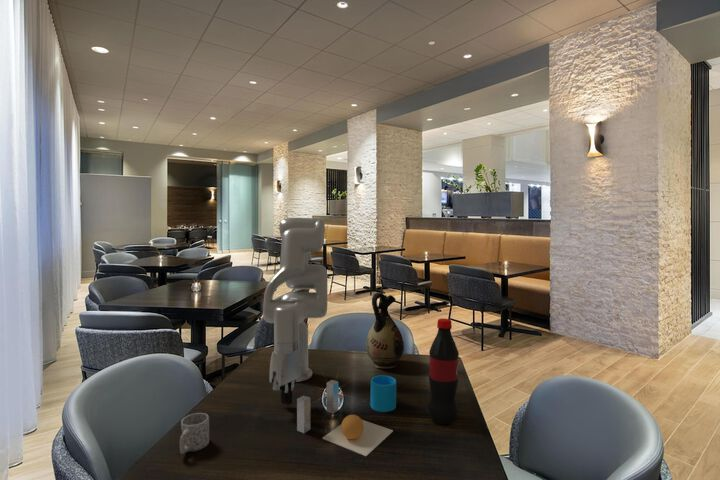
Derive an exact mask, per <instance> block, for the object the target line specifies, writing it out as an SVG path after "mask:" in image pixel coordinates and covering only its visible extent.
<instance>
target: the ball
mask: <svg viewBox="0 0 720 480" xmlns="http://www.w3.org/2000/svg"><path fill="white" fill-rule="evenodd" d="M361 419H362V418H361V417H360V416H358V415H357V414H348V415H346V416H345V417H344V418H343V419H342V422H341V424H342V425H341V424H340V425H341V429H342V433H343V434H344V436H345V437H346V438H348V439H356V438H358V437H360V435H361V434H362V432H363V428H364V426H363V422H362V420H363V419H362V420H361Z"/></svg>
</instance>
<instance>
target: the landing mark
mask: <svg viewBox="0 0 720 480" xmlns="http://www.w3.org/2000/svg"><path fill="white" fill-rule="evenodd" d="M361 420H362V422H363V426H364V428H363V432H362V434H361V435H360V437H358V438H356V439H348V438H346V437H345V436H344V434H343V433H342V429H341V425H342V423H341V424H339V425H338V426H337V427H335V428H333V429H332V430H331V431H329V432H328V433H327V434H326V435H324V436H323V437H322V440H324V441H327V442H330V443H332V444H335V445H337V446H339V447H341V448H344V449H347V450H349V451H351V452H354V453H356V454H359V455H361V456H364V457H367V456H368V455H370V454H371V452H373V451H374V450H375V449H376V448H377V447H378V446H379V445H380V444H381V443H383V442H384V440H386V438H388V437H389V436H390V435H391V434H392V433H393V432H394V430H393V429H390V428H387V427H385V426H381V425H378V424H375V423H372V422H370V421H368V420H367V421H366V420H364V419H362V418H361Z"/></svg>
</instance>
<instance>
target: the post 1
mask: <svg viewBox="0 0 720 480" xmlns="http://www.w3.org/2000/svg"><path fill="white" fill-rule="evenodd" d="M296 403H297V404H296V431H297V432H300V433H302V434H306V433H307V432H309V431H310V430H311V397H309V396H306V395H302V396H300V397H298V398H296Z"/></svg>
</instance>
